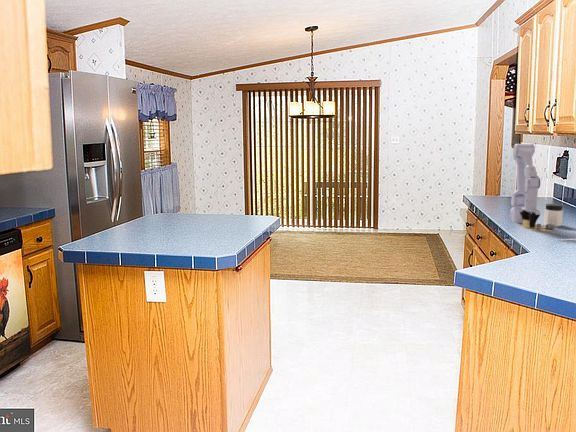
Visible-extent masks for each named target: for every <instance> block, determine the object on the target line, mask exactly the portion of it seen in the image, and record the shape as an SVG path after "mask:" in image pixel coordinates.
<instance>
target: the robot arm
mask: <svg viewBox="0 0 576 432" xmlns="http://www.w3.org/2000/svg"><path fill="white" fill-rule="evenodd" d="M535 151H536V147H535V144H533V143H515V144H514V145H513V148H512V152H513V153H512V156H513V160H514V161H516V190H515V191H514V192H512V194H511V198H510V205H511V206H512V208H510V211H509V219H508V221H510V222H511V223H512V222H513V223H515V224H517V223H518V224H522V222H523V219H529V221H530V222H529V225H530V227H534V226H535V225H536V223H537V221H538V219H539V217H540V216H541V210H539V209H537V204H538V195H539V194H538V193H539V189H540V188H541V178H540V177H539V176H538V175H537V174H538V173H537V168H536V166H534V165H533V156H534V154H535Z"/></svg>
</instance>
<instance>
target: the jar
mask: <svg viewBox="0 0 576 432" xmlns="http://www.w3.org/2000/svg"><path fill="white" fill-rule="evenodd" d="M563 207H564V206H563V204H558V203H546V204H545V208H544V213H543V223H542V224H543V226H546V225H547V224H549V223H551V224H553V225H555V227H561V226H563V225H562V224H563V217H564V215H563V214H564V210H563Z"/></svg>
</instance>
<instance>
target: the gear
mask: <svg viewBox="0 0 576 432" xmlns="http://www.w3.org/2000/svg"><path fill="white" fill-rule="evenodd" d="M545 230H556V226H555V225H553V224H551V223H549V224H547V225H545Z"/></svg>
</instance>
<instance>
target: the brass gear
mask: <svg viewBox="0 0 576 432" xmlns="http://www.w3.org/2000/svg"><path fill="white" fill-rule="evenodd" d="M529 222H530V221H529V219H523V222H522V223H521V224H522V228H524V227H525V228H524V229H527V228H535V226H534V227H530V225H529Z"/></svg>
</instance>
